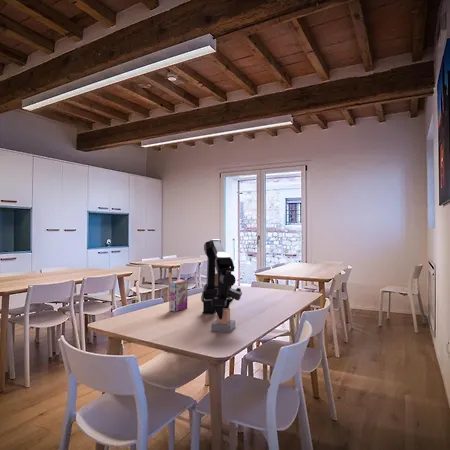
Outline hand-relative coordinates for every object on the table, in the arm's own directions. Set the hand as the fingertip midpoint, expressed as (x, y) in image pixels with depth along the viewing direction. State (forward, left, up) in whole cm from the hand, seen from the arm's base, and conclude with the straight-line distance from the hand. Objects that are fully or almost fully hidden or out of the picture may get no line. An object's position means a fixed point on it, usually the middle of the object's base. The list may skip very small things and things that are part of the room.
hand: (223, 316), depth 154 cm
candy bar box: (-35, +28, -6) cm, 45 cm away
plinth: (0, 0, -6) cm, 6 cm away
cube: (0, 0, -2) cm, 2 cm away
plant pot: (-20, +65, -6) cm, 68 cm away
